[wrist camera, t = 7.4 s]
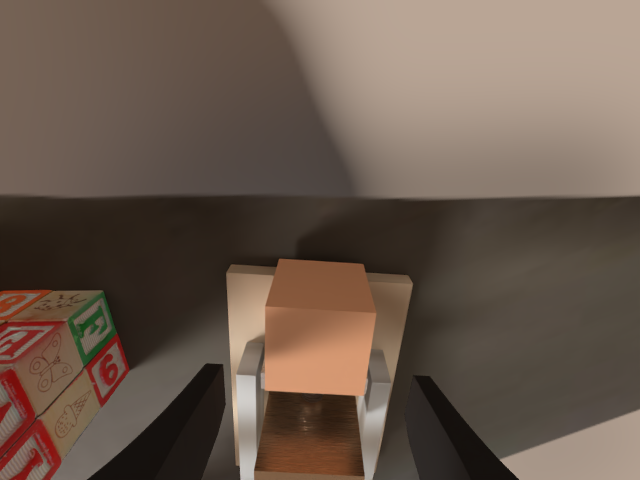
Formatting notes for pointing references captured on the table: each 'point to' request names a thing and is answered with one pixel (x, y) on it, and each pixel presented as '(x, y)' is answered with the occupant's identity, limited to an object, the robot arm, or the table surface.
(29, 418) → the stack of blocks
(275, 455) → the sliding carriage
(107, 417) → the table surface
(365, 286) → the terracotta block
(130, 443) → the robot arm
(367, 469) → the channel deck
